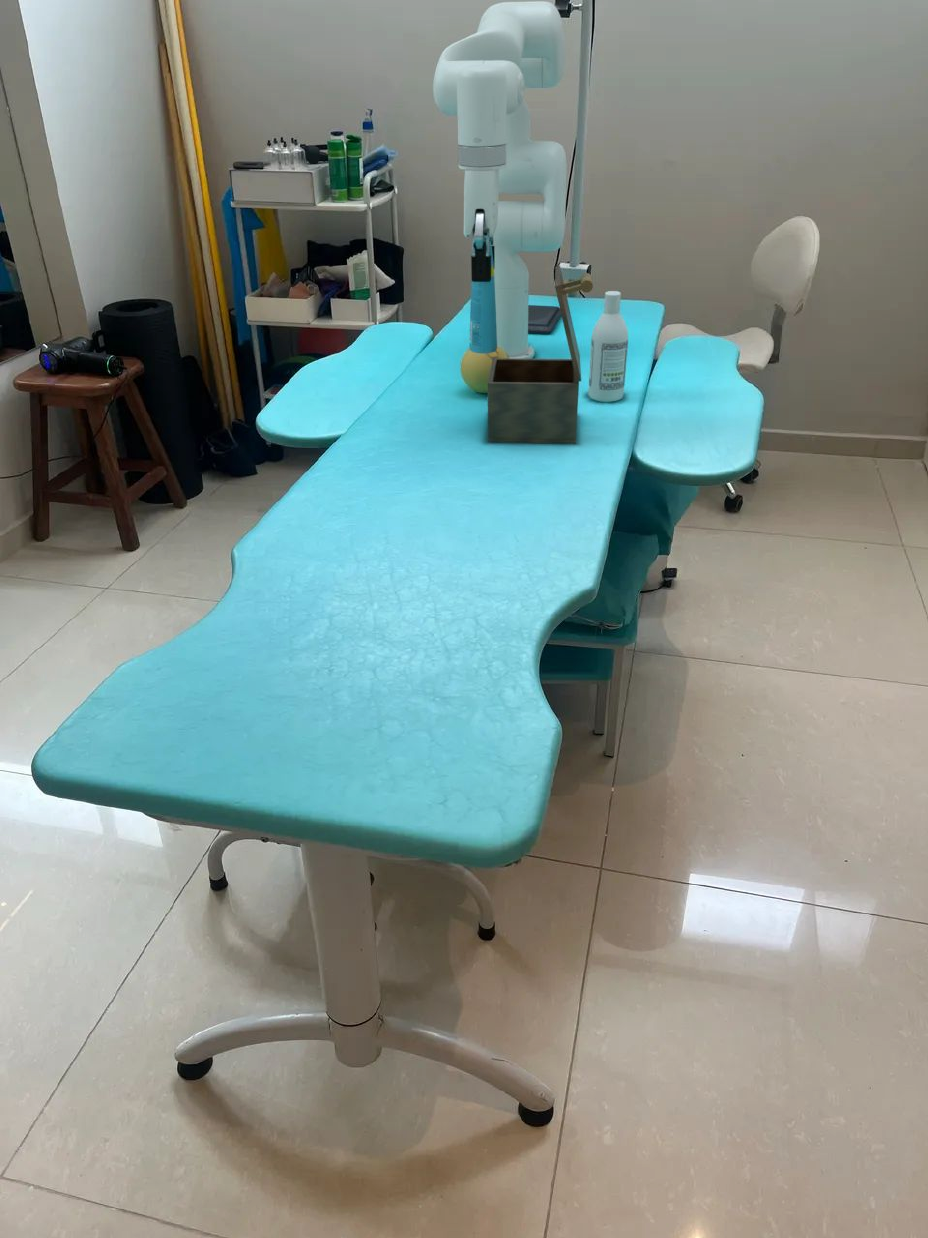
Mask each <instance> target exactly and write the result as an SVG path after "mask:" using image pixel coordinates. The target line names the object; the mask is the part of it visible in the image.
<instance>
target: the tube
mask: <svg viewBox="0 0 928 1238" xmlns="http://www.w3.org/2000/svg"><path fill="white" fill-rule="evenodd" d="M483 235H485V234H483ZM491 239H492V238H490V252H489V256H491V281H490V282H473V281H472V280H471V281H470V282H471V283H470V284H471V285H470V307H469V310H470V311H469V342H468V343H469V345H468V347H469V348H468V349H470V351H471V352H474V353H484V354H487V353H492V352H495V351H496V350H497V327H496V302H495V281H494V265H493V255H492V246H491ZM485 243H486V241H485Z"/></svg>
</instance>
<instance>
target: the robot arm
mask: <svg viewBox="0 0 928 1238" xmlns="http://www.w3.org/2000/svg"><path fill="white" fill-rule="evenodd" d="M564 36H565V35H564V26H563V21H562V16H561V14H560V12H559V10H558V8H557V7H556V6H555V5H554V4H553V3H552V2H550V1H543V0H538V1H535V0H534V1H502V2H499V3H495V4H492V5H490V6H489V7H488V8H487V9H486V10H485V12H484V13H483V15H482V16H481V19H480V21H479V24H478V28H477V32H475V33H473V34H471V35H469V36H467V37H465V38H463V39H459V40H458V41H456V42H454V43H452V44H450V45H448V46H447V47H446V48H445V49H444V50H443V51H441V52H442V53H441V54H440V56H439V59H438V62H437V65H436V68H435V71H434V76H433V83H432V93H433V100H434V103H435V106H436V107H437V109H438V111H440V113H442V114H443V115H446V116H457V154H458V158H457V159H458V160H457V161H458V169H460V170H463V171H464V179H463V180H464V181H463V236H464V237H465V238H466V239H468V238H469V236H471V235H472V236H471V240H472V242H471V256H470V266H471V269H470V270H471V273H470V275H471V281H473V282H490V281H491V256H489V252H490V238H492V239H491V246H492V255H493V265H494V281H495V302H496V327H497V345H498V346H499V347H500V348H502V349H503V350H504V352H505V353H507V355H508V357H509V358H511V359H534V357H535V349H534V348H533V346H531V345H529V333H528V305H529V299H530V298H529V297H530V296H529V295H530V274H529V270H528V267H527V265H526V263H525V262H524V260H523V259H522V258H521V257H520V255H519V254H518V253H523V252H531V253H532V252H533V253H534V252H535V253H536V252H540V253H544V252H545V253H546V252H555V251H557V250H559V249H560V248H561V247H562V245H563V243H564V238H565V231H566V209H567V207H566V206H567V205H566V204H567V179H568V178H567V177H568V173H567V172H568V168H567V167H568V163H567V155H566V151H565V149H564V146H563V145H562V144H560V143H559V142H556V141H552V140H532V139H531V123H532V122H531V121H532V120H531V118H532V117H531V116H532V115H531V109H530V108H529V106H528V104H527V103H526V101H525V99H524V98H525V89H549V88H554V87H557V86H558V85H559V83H560V82H561V80H562V79H563V76H564V72H565V65H566V56H565V55H566V54H565V53H566V52H565V37H564ZM500 194H509V195H510V194H511V195H512V194H513V195H515V194H516V195H518V194H519V195H522V194H523V195H541V196H542V197H543V201H542V200H541V201H540V200H539V201H537V200H536V201H535V200H532V201H531V200H529V201H528V200H501V201H500V200H499V199H500V198H499V197H500V196H499V195H500ZM483 234H485V235H483ZM485 241H486V243H485Z"/></svg>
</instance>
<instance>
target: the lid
mask: <svg viewBox="0 0 928 1238" xmlns="http://www.w3.org/2000/svg"><path fill="white" fill-rule="evenodd" d="M554 271H555V272H554V288H555V293H556V297H557V302H558V307H559V308H560V311H561V319H562V324H563V328H564V333H565V337H566V341H567V346H568V350H569V355H570V359H572V364H573V368H574V372H575V377H576V381H577V382H579V383H580V382H582V370H581V367H582V366H581V354H580V350H579V346H578V345H579V344H578V340H577V336H576V331H575V327H574V322H573V318H572V314H571V310H570V304H569V301H568V300H569V299H568V295H567V294H572V293H575V292H578V291H582V292H583V293H587V294H588V293H590V292H591V291H592V290H593V288H594V284H593V277H592V274H590V273H588V272H584V273H583V274H581V275H580V278H578V279H573V280H570V281H567V282H565V281H564V278H563V274H562V273H563V272H562V268H561V265H560V264H559V265H556V266H555V268H554Z"/></svg>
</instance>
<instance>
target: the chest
mask: <svg viewBox="0 0 928 1238" xmlns="http://www.w3.org/2000/svg"><path fill="white" fill-rule="evenodd" d="M579 388H580V382H577V381H576V377H575V372H574V368H573V364H572V359H571V358H532V359H511V358H493V359H492V364H491V369H490V374H489V379H488V393H487V442H488V443H515V444H516V443H517V444H567V445H568V444H573V445H576V444H577V429H578V428H577V427H578V412H579V411H578V407H579V390H580V389H579Z"/></svg>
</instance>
